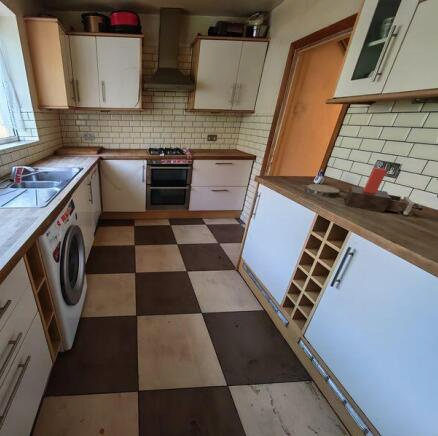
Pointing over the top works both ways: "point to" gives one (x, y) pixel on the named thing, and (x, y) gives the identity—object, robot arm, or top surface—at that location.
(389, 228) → the top surface
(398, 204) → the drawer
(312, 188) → the round wood slice
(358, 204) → the dark wooden block
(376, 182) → the tea box
